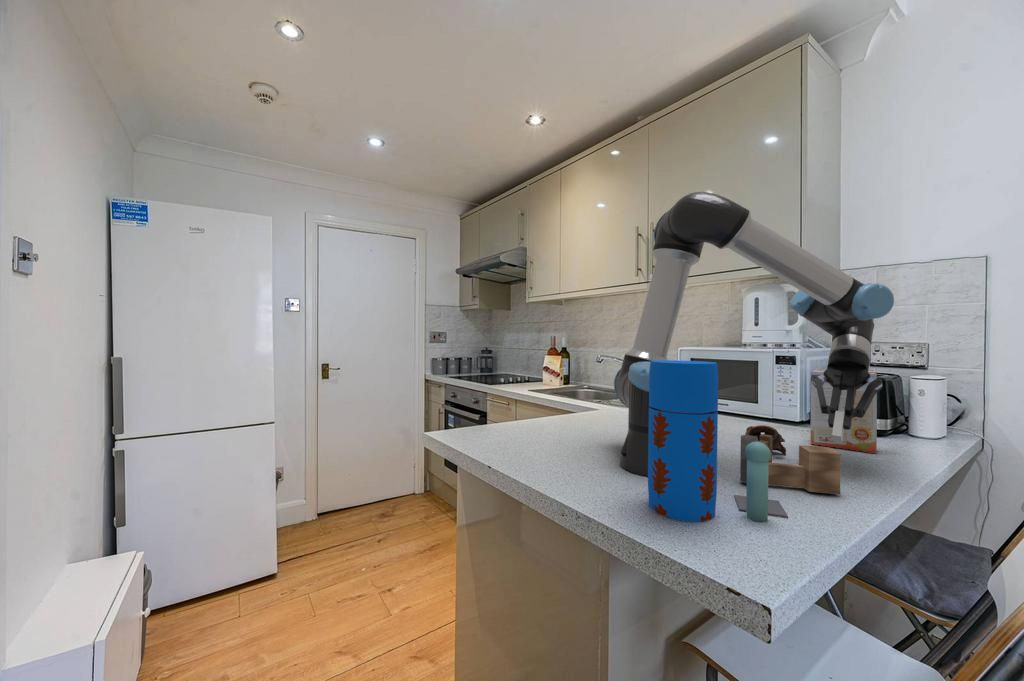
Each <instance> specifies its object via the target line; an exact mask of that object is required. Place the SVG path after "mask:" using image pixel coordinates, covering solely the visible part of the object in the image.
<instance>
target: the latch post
mask: <svg viewBox="0 0 1024 681" xmlns="http://www.w3.org/2000/svg"><path fill="white" fill-rule="evenodd" d="M745 455H746V457H747V483H746V496H747V498H746V512H745V514H746V515H745V516H746V518H748V519H749V518H750V520H752V521H756V522H760V521H761V522H762V523H763V521H765V522H767V521H768V520H769V519H768V518H769V517H768V516H769V515H768V499H769V485H768V464H769V459H770V457H771V452H770V449H769V448H768V447H767V446H766V445H765V444H764V443H761V442H751V443H749V444H748V445H747V446H746V449H745Z"/></svg>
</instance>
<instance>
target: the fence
mask: <svg viewBox="0 0 1024 681" xmlns="http://www.w3.org/2000/svg"><path fill="white" fill-rule="evenodd" d="M758 442H761V443H764V444H765V445H766V446H767V447H768V448H769V449H770V452H771V457H770V459H769V463H773V450H772V444H773V436H772V435H765V434H764V433H761V435H760V441H758Z"/></svg>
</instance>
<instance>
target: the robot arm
mask: <svg viewBox="0 0 1024 681" xmlns="http://www.w3.org/2000/svg"><path fill="white" fill-rule="evenodd" d="M653 242H654V243H653V249H652V255H653V258H654V259H655V264H654V268H653V272H652V275H651V279H650V282H649V286H648V290H647V294H646V298H645V302H644V304H643V308H642V313H641V315H640V316H641V317H640V320H639V324H638V327H637V332H636V335H635V339H634V343H633V346H632V349H630V350H629V351H626V352H625V353H624V356H623V360H622V363H621V367H620V368H619V370H617V372H616V374H615V376H614V380H613V389H614V392H615V395H616V397H617V398H618V400H619V401H620V402H621V404H623V405H624V406H625V407H626V408H628V416H627V418H628V419H627V420H628V422H627V424H628V427H627V434H626V436H625V440H624V442H623V446H622V448H621V451H620V454H619V465H620V466H621V467H622V468H623V469H624V470H626V471H628V472H631V473H634V474H637V475H641V476H645V477H646V476H647V477H648V436H649V370H650V363H651V361H656V360H669V359H668V358H667V356H668V352H669V350H670V345H671V342H672V338H673V333H674V330H675V327H676V322H677V319H678V315H679V312H680V308H681V305H682V301H683V297H684V294H685V289H686V287H687V286H686V285H687V283H688V278H689V275H690V271H691V267H692V266H694V265H695V264H698V263H699V261H700V259H701V256H702V255H701V254H702V251H703V248H704V244H706V243H707V244H710V245H712V246H714V247H717V248H718V249H720V250H723V249H729V250H731V251H733V252H735V253H736V254H738V255H739V256H741V257H743V258H745V259H747V260H748V261H749V262H751V263H753V264H755V265H756V266H758V267H760V268H762V269H763V270H764V271H767V272H768V273H770V274H771V275H773V276H775V277H777V278H778V279H781V280H782V281H784V282H785V283H787V284H789V285H791V286H792V287H793V288H796V289H797V290H798V291H797V292H796V293H795V294H794V296H793V297H792V298H791V299H790V304H789V305H790V308H791V309H792V311H794V312H795V313H797V314H798V315H799V316H800V317H802V318H804V319H805V320H807V321H809V322H811V323H812V324H813V325H815V326H817V327H819V328H820V329H821V330H823V331H824V332H826V333H828V334H829V335H831V337H832V338H831V344H830V350H829V356H828V359H827V360H828V361H827V366H826V369H825V370H826V371H824V373H823V375H820V376H817V375H812V376H811V375H810V379H811V378H812V383H813V385H814V386H815V387H816V388H817V393H818V398H819V403H820V408H821V412H822V413H823V414H826V413H827V414H829V417H828V425H829V427H831V428H833V431H832V438H833V443H839V444H842V442H843V434H844V429H846V430H850V429H851V423H852V418H854V417H859V418H862V417H864V415H865V413H866V411H867V409H868V407H869V405H870V403H871V402H872V400H873V398H874V396H875V394H876V393H877V394H878V392H880V391H881V390H882V389H883V380H882V379H881V378H879V377H877V379H873V378H871V377H870V374H869V373H868V372H869V370H870V359H871V353H872V352H871V350H872V341H873V334H874V329H875V322H874V319H879V318H880V319H881V318H883V317H885V316H886V315H888V314H889V313H890V311H892V308H894V304H895V298H894V294H893V292H892V290H891V289H890V288H889V287H888V286H886V285H884V284H880V283H872V282H871V283H863V282H861V281H860V280H858V279H855V278H854V277H852V276H851V275H849V274H847V273H845V272H844V271H842V270H841V269H838V268H837V267H835V266H834V265H832V264H830V263H828V262H827V261H825V260H823V259H822V258H820V257H819V256H817V255H815V254H813V253H812V252H810V251H808V250H807V249H804V248H803V247H801V246H800V245H798V244H796V243H795V242H792V241H791V240H789V239H788V238H786V237H784V236H783V235H781V234H780V233H778V232H776V231H774V230H772V229H771V228H769V227H768V226H765V225H764V224H762V223H761V222H759V221H757V220H756V219H754V218H753V217H752V213H751V210H750V209H748V208H745V207H744V206H742V205H741V204H739V203H736V202H735V201H733V200H731V199H730V198H727V197H724V196H721V195H720V194H719V195H718V194H716V193H713V192H707V191H695V192H691V193H688V194H686V195H684V196H682V197H681V198H680V199H679V200H677V202H675V204H674V205H673V206H672V207H670V208H669V210H667V211H666V212H665V213H664V214H662V216H660V218H659V219H658V220H657V223H656V225H655V227H654V230H653ZM825 380H826V381H827V382H828V383H829V384H830V385H831V386H832V387H833V390H832V396H831V402H830V406H828V405H826V400H825V395H824V390H823V384H824V381H825ZM866 383H867V384H868V386H867V388H866V390H865V392H864V393H863V395H862V397H861V399H860V401H859V403H858V404H857V406H856V408H854V402H855V396H856V390H857V389H859V388H860V387H862V386H863V385H865V384H866ZM842 390H847V395H846V402H845V407H844V409H845V413H844V412H843V411H838V409H839V403H840V396H841V393H842Z"/></svg>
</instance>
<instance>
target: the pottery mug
mask: <svg viewBox="0 0 1024 681" xmlns="http://www.w3.org/2000/svg"><path fill="white" fill-rule="evenodd" d="M761 434H765V435H772V436H773V444H772V451H777V452H780V453H781V454H782V455H783V454H784V456H786V455H787V449H786V446H784V445H783V444H782V443H785V442H786V440H785V439H784V438H783V437H782V436H783V435H781V434H780V433H779V432H778V430H777V429H776V428H774V427H772V426H770V425H765V424H764V425H763V424H762V425H760V424H759V425H754V426H752V425H751V426H749V427H746V431H745V434H744V435H750V436H755V437H758V441H760V435H761Z"/></svg>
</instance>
